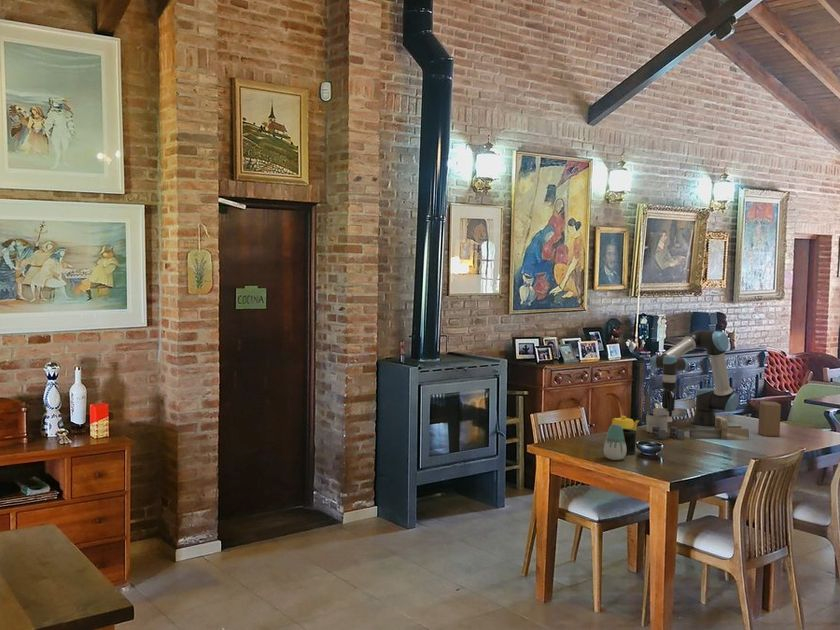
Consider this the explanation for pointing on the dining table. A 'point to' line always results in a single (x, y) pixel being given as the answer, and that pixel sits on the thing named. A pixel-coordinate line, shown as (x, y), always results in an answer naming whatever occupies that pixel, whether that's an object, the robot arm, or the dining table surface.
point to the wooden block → (769, 418)
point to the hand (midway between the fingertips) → (667, 421)
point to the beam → (721, 432)
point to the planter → (655, 423)
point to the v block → (662, 433)
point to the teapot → (625, 423)
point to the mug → (630, 440)
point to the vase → (615, 443)
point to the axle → (663, 412)
